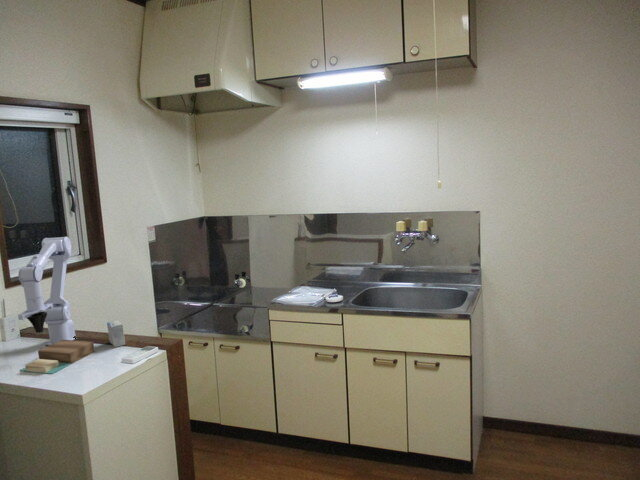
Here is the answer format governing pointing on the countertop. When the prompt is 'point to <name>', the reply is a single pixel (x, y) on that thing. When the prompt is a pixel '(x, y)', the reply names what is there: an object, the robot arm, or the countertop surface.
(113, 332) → the medicine box
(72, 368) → the countertop surface
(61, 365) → the mat
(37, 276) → the robot arm
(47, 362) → the cream rectangular block
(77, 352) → the block
